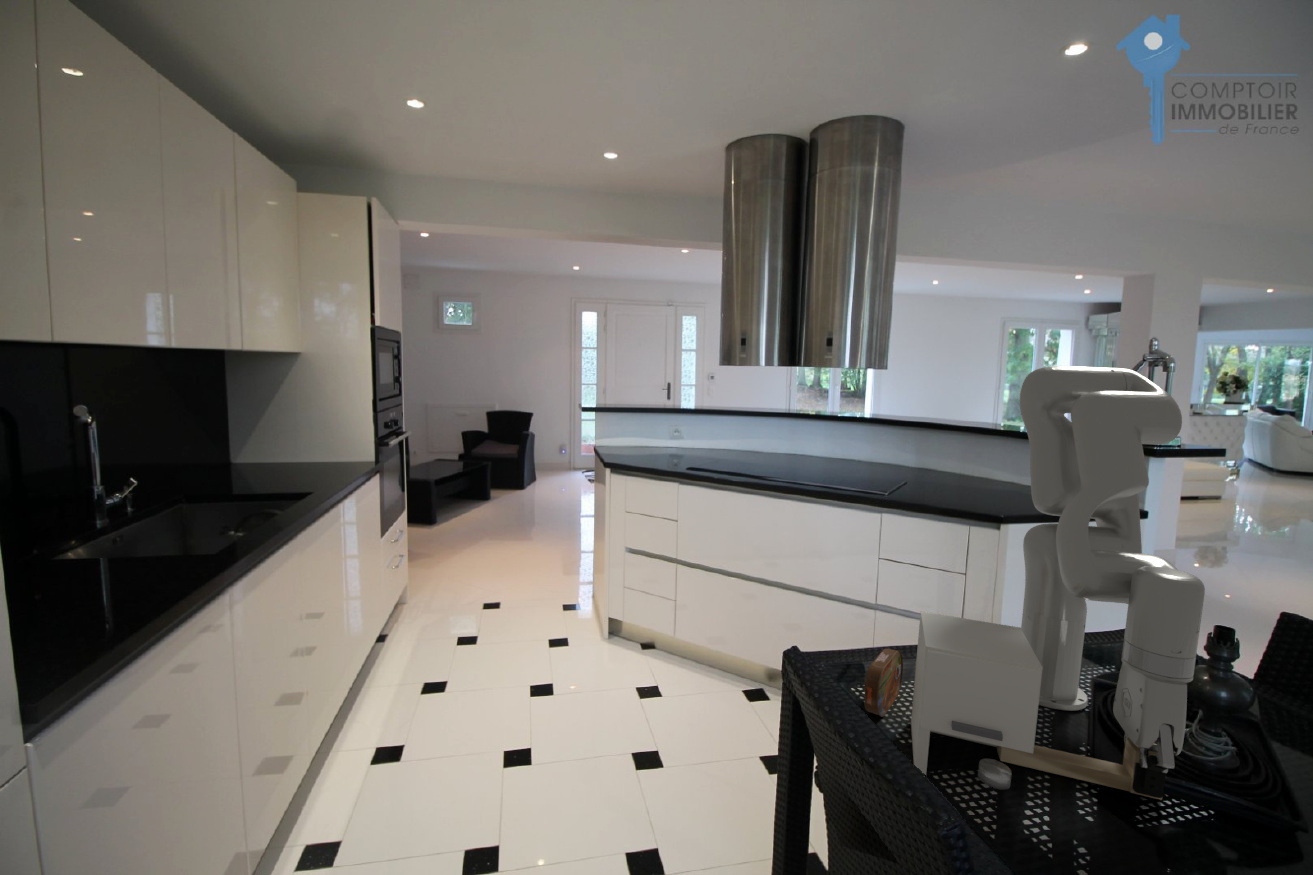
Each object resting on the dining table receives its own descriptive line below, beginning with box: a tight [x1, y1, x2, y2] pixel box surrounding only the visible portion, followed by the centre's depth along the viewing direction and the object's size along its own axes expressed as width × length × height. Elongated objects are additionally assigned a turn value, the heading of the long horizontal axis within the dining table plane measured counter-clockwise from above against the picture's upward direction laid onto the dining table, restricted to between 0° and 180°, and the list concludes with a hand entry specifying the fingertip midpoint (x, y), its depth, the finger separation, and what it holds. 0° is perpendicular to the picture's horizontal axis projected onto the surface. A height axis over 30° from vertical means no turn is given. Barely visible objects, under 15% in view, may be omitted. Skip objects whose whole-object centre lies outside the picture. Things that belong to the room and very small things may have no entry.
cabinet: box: [910, 611, 1043, 776], centre depth 86 cm, size 16×14×19 cm
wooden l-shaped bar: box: [996, 738, 1163, 801], centre depth 85 cm, size 4×19×6 cm, turn 69°
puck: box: [977, 758, 1012, 791], centre depth 84 cm, size 4×4×2 cm
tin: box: [863, 648, 904, 717], centre depth 103 cm, size 15×3×8 cm, turn 143°
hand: (1141, 783), depth 82 cm, fingers closed on wooden l-shaped bar, 3 cm apart
